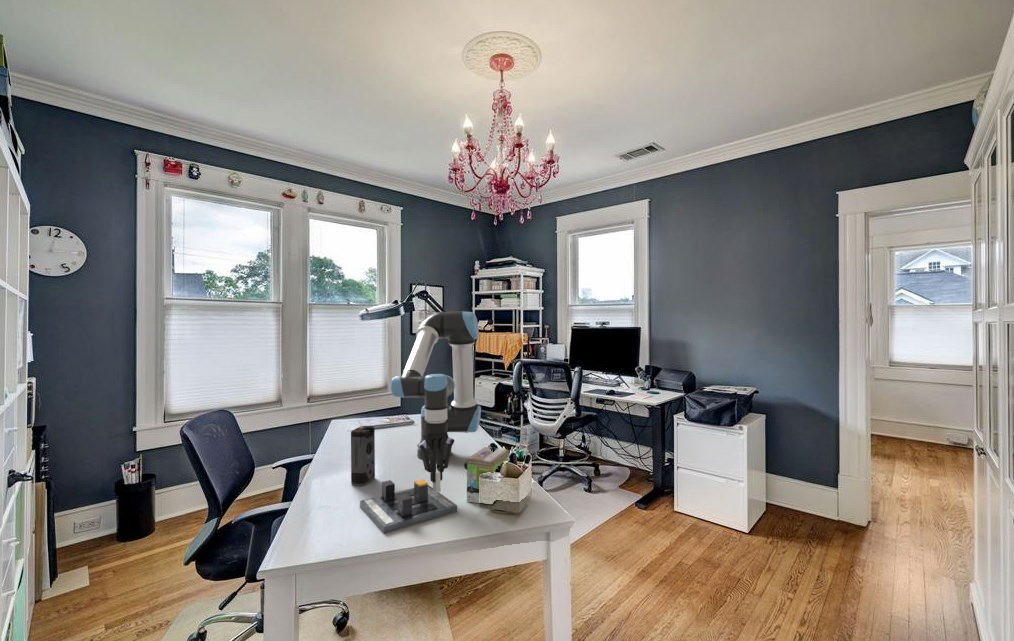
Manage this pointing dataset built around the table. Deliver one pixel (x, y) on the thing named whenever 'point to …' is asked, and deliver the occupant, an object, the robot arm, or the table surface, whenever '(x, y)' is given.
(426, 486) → the block
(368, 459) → the electronic device
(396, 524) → the panel
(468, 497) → the tea box
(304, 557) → the table surface
